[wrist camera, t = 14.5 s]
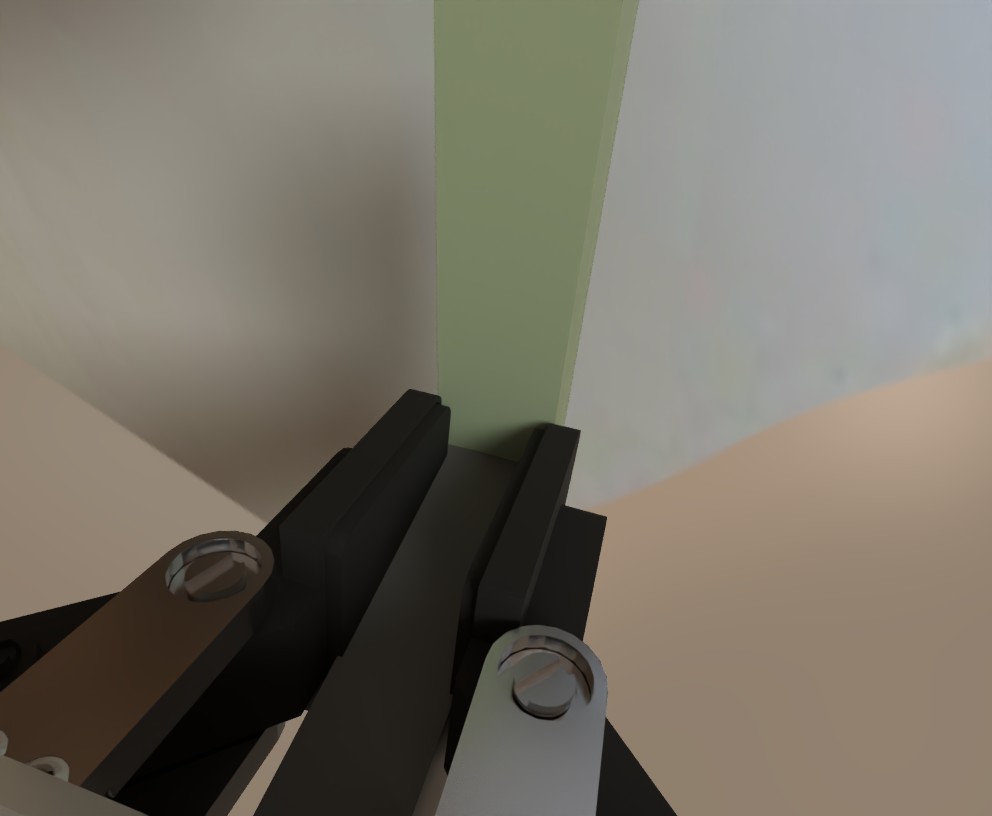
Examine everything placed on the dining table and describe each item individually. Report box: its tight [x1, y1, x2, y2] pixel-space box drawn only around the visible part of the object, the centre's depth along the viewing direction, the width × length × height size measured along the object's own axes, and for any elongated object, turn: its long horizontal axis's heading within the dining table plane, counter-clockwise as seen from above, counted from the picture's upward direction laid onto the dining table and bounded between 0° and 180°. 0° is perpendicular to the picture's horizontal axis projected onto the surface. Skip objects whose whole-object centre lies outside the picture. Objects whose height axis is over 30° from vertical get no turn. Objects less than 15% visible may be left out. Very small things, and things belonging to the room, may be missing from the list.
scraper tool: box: [253, 0, 639, 816], centre depth 7 cm, size 2×10×8 cm, turn 173°
